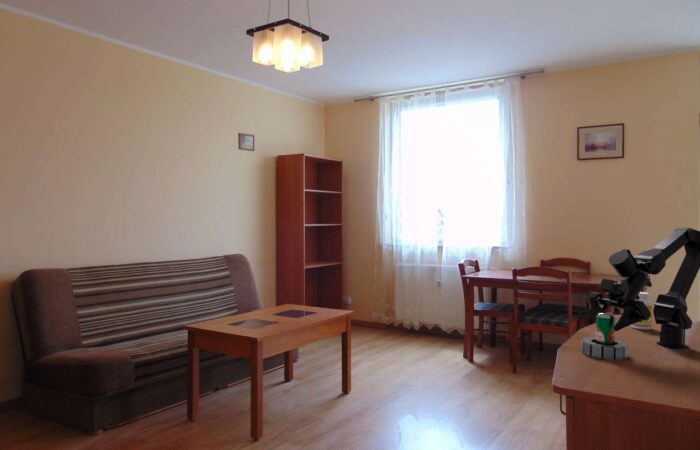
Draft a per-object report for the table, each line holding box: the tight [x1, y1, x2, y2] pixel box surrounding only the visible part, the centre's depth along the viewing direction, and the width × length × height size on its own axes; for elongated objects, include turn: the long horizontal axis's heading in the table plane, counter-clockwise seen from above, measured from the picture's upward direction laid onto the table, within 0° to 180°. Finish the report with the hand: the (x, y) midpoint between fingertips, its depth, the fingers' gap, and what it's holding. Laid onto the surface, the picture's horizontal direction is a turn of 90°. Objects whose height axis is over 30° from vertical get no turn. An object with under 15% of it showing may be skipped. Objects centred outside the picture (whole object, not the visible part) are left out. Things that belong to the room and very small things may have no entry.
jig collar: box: [580, 336, 629, 361], centre depth 153 cm, size 12×12×4 cm
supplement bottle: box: [630, 291, 653, 331], centre depth 188 cm, size 7×7×13 cm
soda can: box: [595, 311, 616, 345], centre depth 153 cm, size 5×5×12 cm
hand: (601, 326), depth 152 cm, fingers open, 9 cm apart
